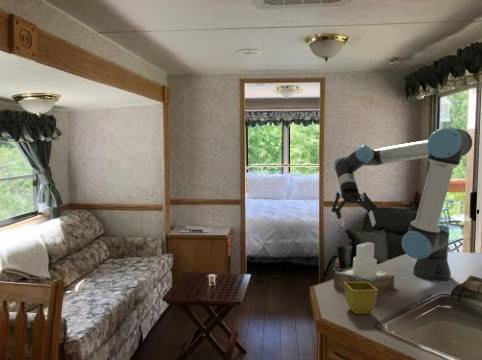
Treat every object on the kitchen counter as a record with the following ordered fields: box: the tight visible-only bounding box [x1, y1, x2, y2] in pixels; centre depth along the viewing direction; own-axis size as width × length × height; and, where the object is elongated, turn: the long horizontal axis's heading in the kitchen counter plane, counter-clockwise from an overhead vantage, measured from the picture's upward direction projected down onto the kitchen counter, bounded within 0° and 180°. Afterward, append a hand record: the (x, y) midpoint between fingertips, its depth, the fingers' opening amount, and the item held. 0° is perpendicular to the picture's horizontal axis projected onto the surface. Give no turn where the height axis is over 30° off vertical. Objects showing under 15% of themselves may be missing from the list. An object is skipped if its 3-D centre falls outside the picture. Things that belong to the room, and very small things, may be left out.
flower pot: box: [344, 282, 378, 315], centre depth 143 cm, size 9×9×9 cm
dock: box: [333, 267, 395, 296], centre depth 168 cm, size 16×19×6 cm
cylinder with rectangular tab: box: [352, 241, 378, 277], centre depth 168 cm, size 9×9×12 cm
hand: (358, 224), depth 180 cm, fingers open, 13 cm apart
